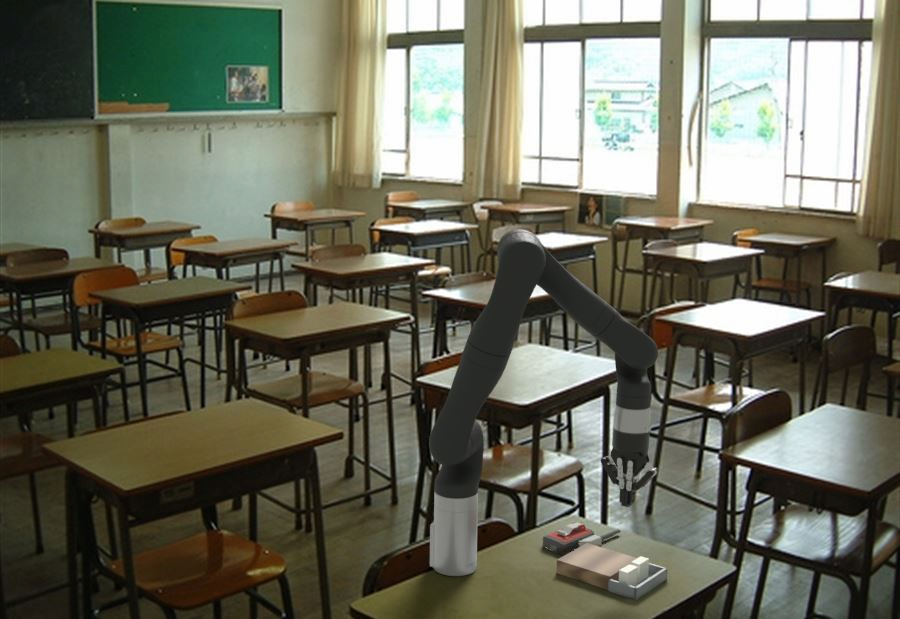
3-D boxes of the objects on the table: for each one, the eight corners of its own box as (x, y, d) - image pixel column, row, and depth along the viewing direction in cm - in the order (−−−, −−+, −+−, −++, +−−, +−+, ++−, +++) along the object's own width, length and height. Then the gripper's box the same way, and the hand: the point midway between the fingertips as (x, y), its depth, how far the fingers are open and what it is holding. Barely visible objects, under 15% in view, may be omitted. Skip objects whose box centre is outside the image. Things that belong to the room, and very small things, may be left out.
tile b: (631, 561, 236) (639, 564, 235) (640, 556, 239) (649, 558, 238) (630, 579, 237) (638, 582, 236) (639, 573, 240) (648, 576, 239)
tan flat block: (556, 573, 241) (556, 559, 240) (586, 555, 250) (586, 542, 249) (609, 590, 233) (610, 576, 232) (638, 571, 242) (639, 558, 242)
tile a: (619, 570, 232) (627, 572, 231) (629, 564, 235) (637, 566, 234) (618, 588, 233) (626, 591, 231) (628, 582, 236) (637, 585, 234)
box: (608, 591, 232) (608, 579, 232) (639, 571, 242) (640, 560, 242) (636, 600, 229) (636, 588, 228) (666, 579, 238) (667, 568, 238)
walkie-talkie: (566, 561, 248) (623, 537, 262) (567, 542, 247) (623, 519, 261) (536, 549, 254) (593, 527, 268) (537, 530, 253) (594, 509, 267)
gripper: (594, 423, 235) (590, 502, 239) (651, 437, 228) (646, 518, 231) (612, 416, 241) (608, 493, 245) (668, 429, 233) (663, 508, 237)
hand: (626, 505), depth 238 cm, fingers closed
